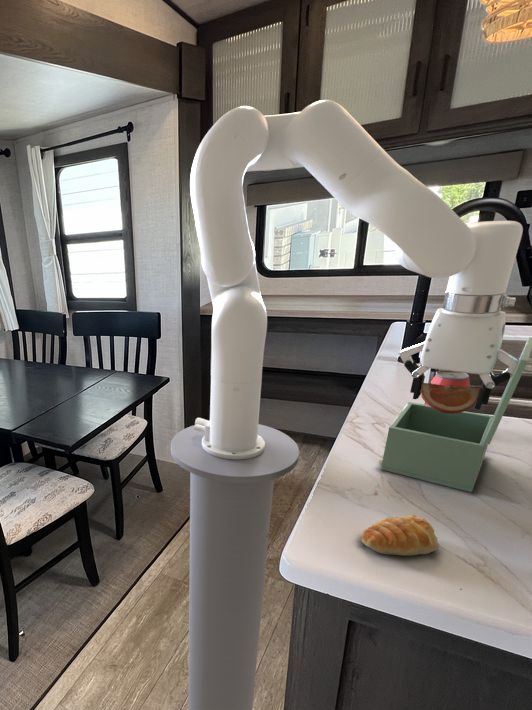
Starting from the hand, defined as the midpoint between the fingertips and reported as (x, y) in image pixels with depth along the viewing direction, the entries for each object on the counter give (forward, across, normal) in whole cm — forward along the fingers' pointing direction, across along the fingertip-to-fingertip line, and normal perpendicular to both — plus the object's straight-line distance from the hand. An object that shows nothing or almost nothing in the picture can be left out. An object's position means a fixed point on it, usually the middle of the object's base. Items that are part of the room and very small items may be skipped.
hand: (446, 401), depth 83 cm
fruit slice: (+2, 0, 0) cm, 2 cm away
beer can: (+13, +2, -19) cm, 23 cm away
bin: (+13, 0, 0) cm, 13 cm away
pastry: (+13, -1, +29) cm, 32 cm away
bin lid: (-4, -7, 0) cm, 8 cm away
